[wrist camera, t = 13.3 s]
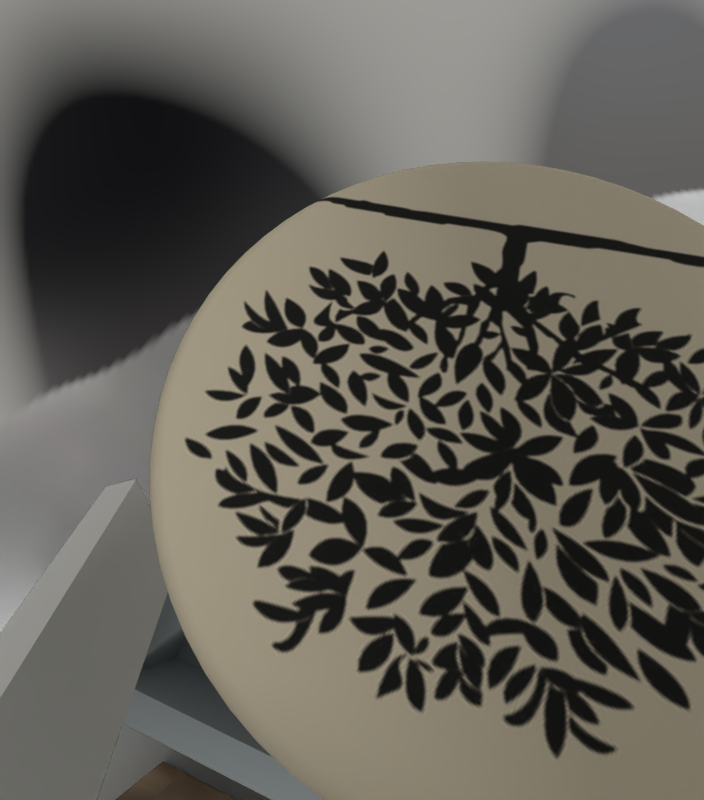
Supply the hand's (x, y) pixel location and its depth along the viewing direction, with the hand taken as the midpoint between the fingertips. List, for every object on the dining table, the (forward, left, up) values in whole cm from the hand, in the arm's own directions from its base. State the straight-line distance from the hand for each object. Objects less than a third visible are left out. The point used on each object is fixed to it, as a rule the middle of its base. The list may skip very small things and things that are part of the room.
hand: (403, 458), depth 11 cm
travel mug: (-1, +1, -11) cm, 11 cm away
